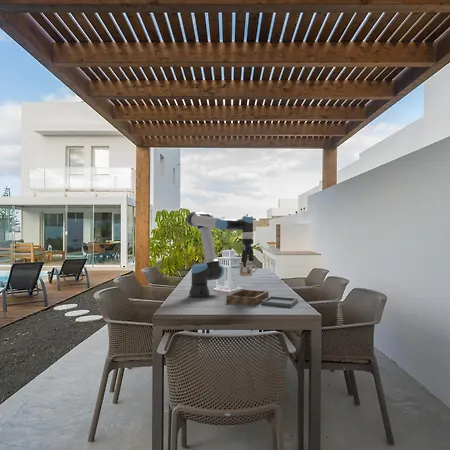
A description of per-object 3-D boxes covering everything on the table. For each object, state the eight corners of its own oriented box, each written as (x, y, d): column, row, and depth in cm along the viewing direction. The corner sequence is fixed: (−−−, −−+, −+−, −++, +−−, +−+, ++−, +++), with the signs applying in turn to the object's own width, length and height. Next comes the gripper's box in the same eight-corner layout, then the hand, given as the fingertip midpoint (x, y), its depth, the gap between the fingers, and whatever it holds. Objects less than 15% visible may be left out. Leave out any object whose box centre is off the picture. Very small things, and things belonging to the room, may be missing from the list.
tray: (261, 305, 221) (261, 301, 221) (270, 299, 238) (270, 296, 238) (290, 307, 213) (290, 303, 213) (297, 302, 230) (297, 298, 230)
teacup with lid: (238, 276, 233) (238, 259, 233) (240, 274, 242) (240, 258, 242) (256, 276, 231) (256, 259, 231) (257, 275, 239) (257, 258, 240)
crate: (226, 303, 228) (226, 295, 228) (241, 296, 252) (241, 289, 252) (255, 305, 219) (255, 297, 219) (268, 298, 243) (268, 291, 243)
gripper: (247, 238, 225) (247, 273, 224) (258, 238, 244) (258, 269, 244) (236, 238, 228) (236, 272, 228) (248, 238, 248) (248, 269, 247)
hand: (247, 271), depth 236 cm, fingers closed on teacup with lid, 9 cm apart
